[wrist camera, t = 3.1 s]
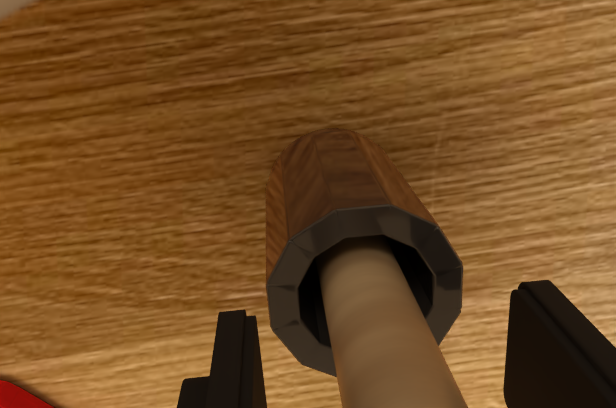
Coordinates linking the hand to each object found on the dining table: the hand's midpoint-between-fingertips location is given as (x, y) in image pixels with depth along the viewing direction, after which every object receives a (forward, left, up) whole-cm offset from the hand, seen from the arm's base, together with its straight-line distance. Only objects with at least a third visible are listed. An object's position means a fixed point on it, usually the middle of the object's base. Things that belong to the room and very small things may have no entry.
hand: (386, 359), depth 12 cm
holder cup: (0, 0, -10) cm, 10 cm away
